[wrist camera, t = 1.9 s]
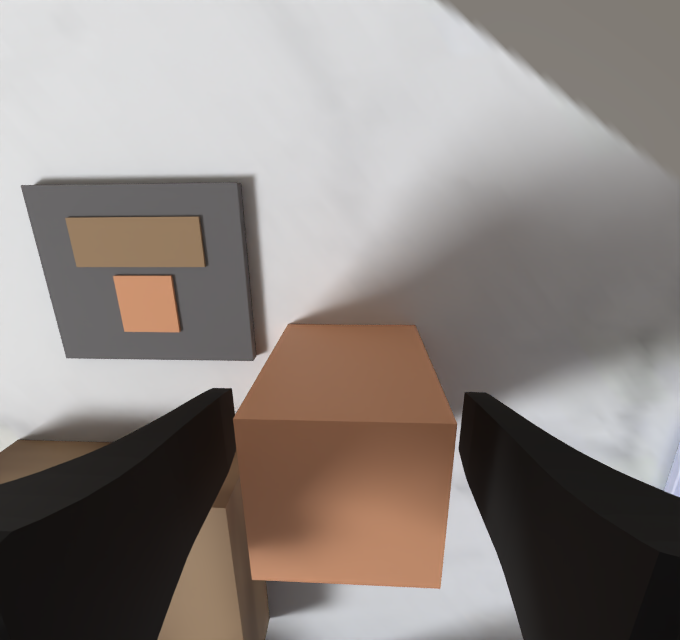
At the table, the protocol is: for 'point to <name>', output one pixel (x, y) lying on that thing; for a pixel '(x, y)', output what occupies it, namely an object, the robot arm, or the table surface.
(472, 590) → the table surface
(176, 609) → the walnut base
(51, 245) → the card
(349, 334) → the rust block
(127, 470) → the robot arm
